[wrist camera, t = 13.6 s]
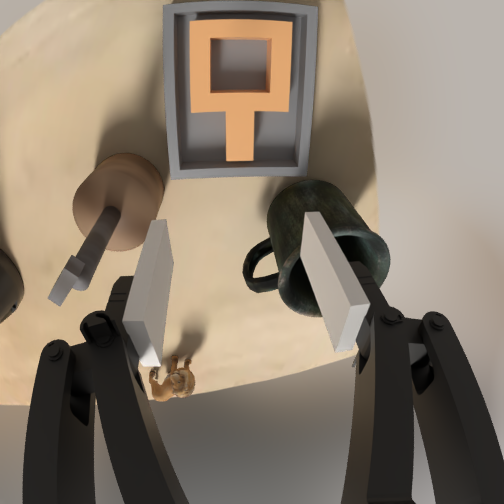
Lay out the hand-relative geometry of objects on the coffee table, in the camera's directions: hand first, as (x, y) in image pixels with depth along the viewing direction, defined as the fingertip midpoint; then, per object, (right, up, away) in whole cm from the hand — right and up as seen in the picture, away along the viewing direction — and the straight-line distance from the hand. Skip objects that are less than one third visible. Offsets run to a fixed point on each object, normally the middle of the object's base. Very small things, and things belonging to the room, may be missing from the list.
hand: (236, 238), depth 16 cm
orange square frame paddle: (-1, +16, +12) cm, 19 cm away
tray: (-1, +16, +12) cm, 20 cm away
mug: (+6, +3, +22) cm, 23 cm away
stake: (-14, +6, +17) cm, 23 cm away
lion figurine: (-14, -22, +38) cm, 46 cm away
